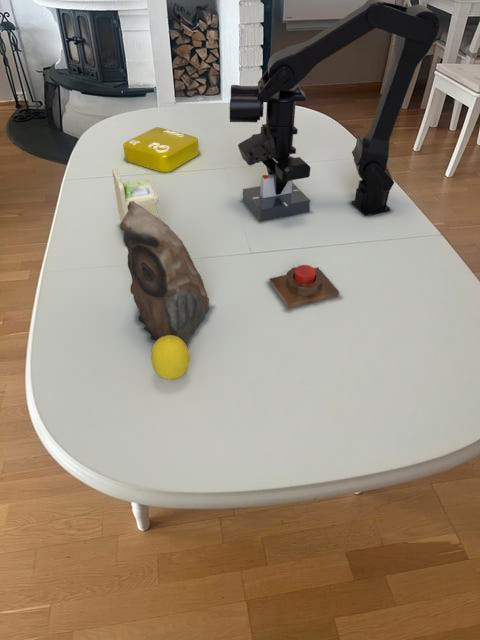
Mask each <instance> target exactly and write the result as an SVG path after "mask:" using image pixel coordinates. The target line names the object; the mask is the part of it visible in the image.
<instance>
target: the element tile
mask: <svg viewBox="0 0 480 640" xmlns="http://www.w3.org/2000/svg"><path fill="white" fill-rule="evenodd" d="M122 147H123V148H122V149H123V154H124V159H125V161H126V162H128V163H131V164H134V165H137V166H140V167H144V168H148V169H151V170H154V171H157V172H161V173H169V172H172V171H173V170H175V169H177V168H179V167H180V166H182V165H184V164H185V163H187V162H188V161H190V160H192V159H194V158H196V157H197V156H198V155H199V153H200V151H199V138H198V137H196V136H194V135H190V134H186V133H182V132H178V131H175V130H172V129H168V128H164V127H159V126H157V127H153V128H151V129H149V130H146V131H145V132H143V133H141V134H139V135H137V136H135V137H133V138H130V139H129V140H127V141H125V142H124V143H122Z"/></svg>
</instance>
